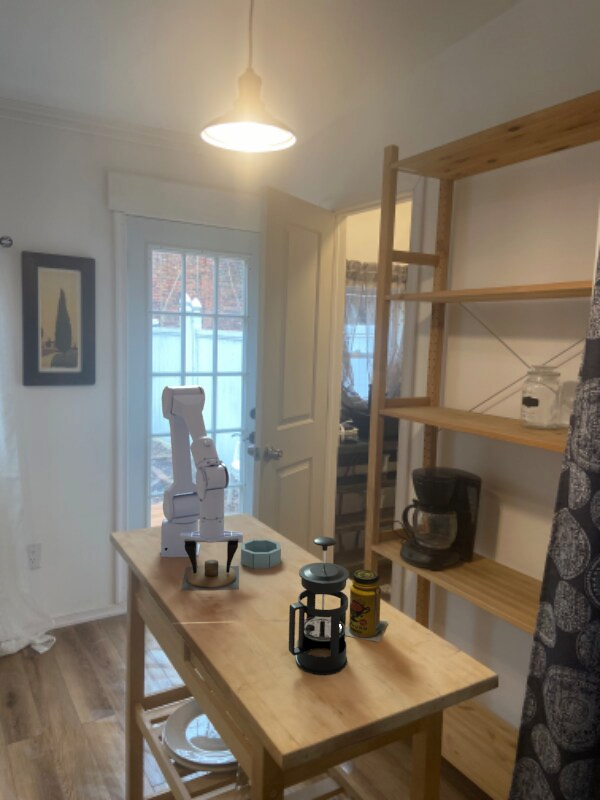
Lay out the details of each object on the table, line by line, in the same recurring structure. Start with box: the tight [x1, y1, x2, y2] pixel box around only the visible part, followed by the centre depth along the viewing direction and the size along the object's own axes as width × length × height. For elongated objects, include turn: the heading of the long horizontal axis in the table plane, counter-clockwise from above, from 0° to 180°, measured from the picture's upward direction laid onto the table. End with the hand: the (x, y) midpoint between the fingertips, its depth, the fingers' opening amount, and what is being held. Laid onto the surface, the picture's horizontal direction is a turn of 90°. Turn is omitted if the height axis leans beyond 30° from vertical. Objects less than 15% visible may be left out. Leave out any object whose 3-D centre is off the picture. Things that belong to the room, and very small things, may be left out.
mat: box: [180, 565, 240, 592], centre depth 142 cm, size 13×13×1 cm
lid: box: [187, 559, 236, 588], centre depth 142 cm, size 12×12×4 cm
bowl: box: [240, 538, 282, 569], centre depth 153 cm, size 10×10×4 cm
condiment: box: [345, 569, 389, 643], centre depth 120 cm, size 7×8×12 cm
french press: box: [288, 536, 350, 676], centre depth 107 cm, size 12×9×23 cm
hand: (211, 571), depth 142 cm, fingers open, 7 cm apart
